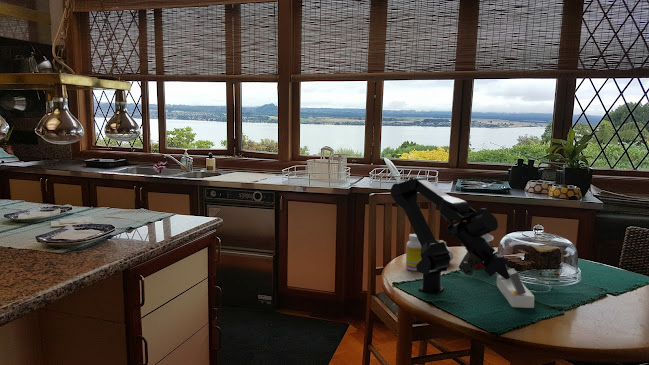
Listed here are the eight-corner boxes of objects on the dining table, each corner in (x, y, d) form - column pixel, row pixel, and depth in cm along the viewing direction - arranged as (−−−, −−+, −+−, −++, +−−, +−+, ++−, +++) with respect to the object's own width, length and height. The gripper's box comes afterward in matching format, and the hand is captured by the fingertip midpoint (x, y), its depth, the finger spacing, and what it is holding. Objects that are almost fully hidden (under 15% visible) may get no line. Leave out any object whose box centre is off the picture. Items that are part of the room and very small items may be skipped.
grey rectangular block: (519, 295, 130) (510, 275, 129) (515, 290, 134) (506, 270, 133) (526, 292, 129) (516, 272, 129) (521, 287, 133) (512, 268, 133)
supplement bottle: (424, 272, 163) (424, 237, 161) (405, 271, 164) (406, 237, 163) (423, 266, 169) (424, 233, 168) (406, 265, 171) (406, 232, 169)
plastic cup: (461, 269, 166) (462, 237, 164) (463, 261, 176) (464, 231, 174) (492, 272, 162) (493, 240, 160) (493, 264, 171) (494, 233, 170)
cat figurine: (456, 240, 170) (420, 231, 179) (447, 255, 166) (411, 244, 174) (457, 258, 176) (422, 247, 184) (449, 272, 171) (414, 261, 180)
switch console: (512, 307, 130) (512, 294, 130) (496, 285, 148) (497, 274, 148) (533, 307, 130) (534, 295, 129) (515, 286, 147) (515, 275, 147)
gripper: (446, 249, 141) (480, 284, 141) (455, 267, 123) (494, 308, 123) (473, 226, 139) (507, 262, 139) (487, 240, 121) (526, 282, 121)
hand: (508, 278), depth 131 cm, fingers closed
